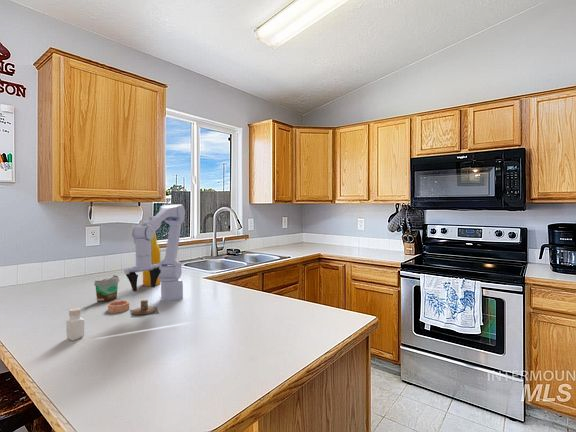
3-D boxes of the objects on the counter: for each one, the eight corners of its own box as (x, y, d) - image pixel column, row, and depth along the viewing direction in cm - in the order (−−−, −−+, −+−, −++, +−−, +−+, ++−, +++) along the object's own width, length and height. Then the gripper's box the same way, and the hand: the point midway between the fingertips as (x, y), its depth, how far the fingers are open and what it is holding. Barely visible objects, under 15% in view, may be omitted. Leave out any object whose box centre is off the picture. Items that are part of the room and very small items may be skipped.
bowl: (128, 307, 139) (128, 299, 139) (129, 312, 132) (129, 304, 132) (108, 309, 135) (108, 302, 135) (108, 315, 129) (108, 307, 129)
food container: (106, 304, 143) (106, 281, 143) (94, 303, 145) (94, 280, 144) (125, 296, 156) (125, 275, 155) (114, 295, 157) (114, 275, 156)
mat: (156, 307, 138) (156, 306, 138) (159, 314, 129) (159, 313, 129) (130, 311, 133) (130, 310, 133) (131, 319, 124) (131, 317, 124)
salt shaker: (72, 341, 104) (71, 312, 104) (65, 338, 106) (65, 309, 106) (85, 337, 107) (84, 308, 107) (79, 334, 109) (78, 306, 109)
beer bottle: (157, 281, 186) (156, 230, 185) (163, 284, 180) (162, 231, 179) (140, 283, 180) (139, 231, 179) (146, 287, 173) (145, 232, 172)
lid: (154, 307, 137) (154, 296, 137) (157, 313, 129) (157, 302, 129) (131, 310, 133) (131, 299, 133) (133, 316, 125) (133, 305, 125)
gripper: (155, 252, 139) (155, 284, 139) (120, 256, 127) (120, 291, 128) (164, 254, 134) (164, 286, 135) (129, 258, 123) (129, 294, 123)
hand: (144, 289), depth 131 cm, fingers open, 7 cm apart
